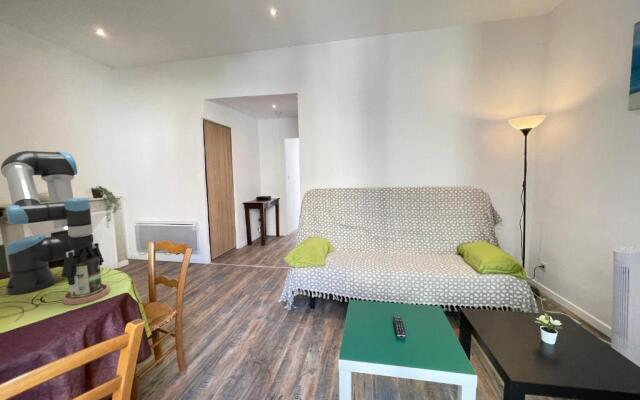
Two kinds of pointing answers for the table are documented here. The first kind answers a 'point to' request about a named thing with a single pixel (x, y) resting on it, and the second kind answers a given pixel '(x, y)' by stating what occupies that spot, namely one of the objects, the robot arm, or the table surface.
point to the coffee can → (88, 277)
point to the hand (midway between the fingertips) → (86, 285)
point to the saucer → (80, 300)
